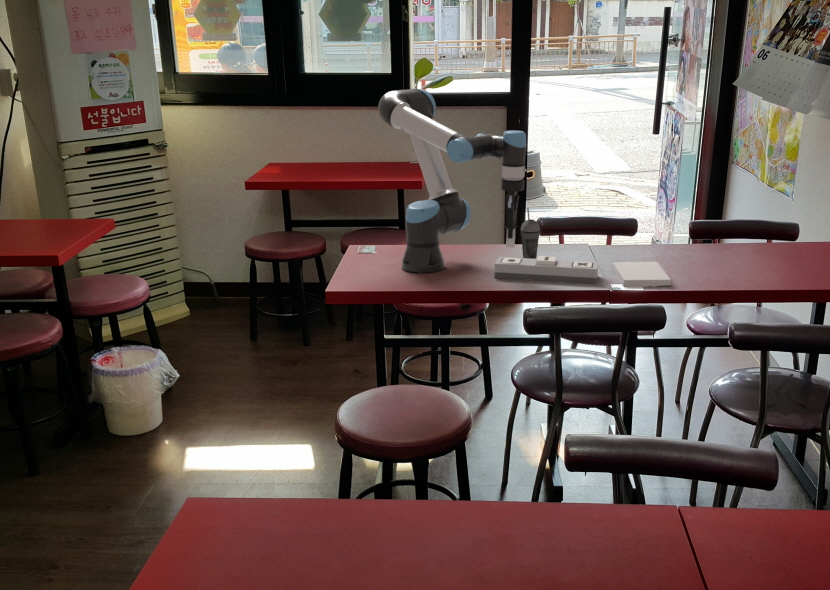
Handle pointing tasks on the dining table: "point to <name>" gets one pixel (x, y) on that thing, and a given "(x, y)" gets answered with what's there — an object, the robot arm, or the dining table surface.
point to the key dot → (511, 261)
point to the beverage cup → (530, 238)
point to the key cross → (583, 264)
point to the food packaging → (641, 274)
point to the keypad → (546, 271)
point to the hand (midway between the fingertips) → (510, 246)
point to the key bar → (546, 261)
